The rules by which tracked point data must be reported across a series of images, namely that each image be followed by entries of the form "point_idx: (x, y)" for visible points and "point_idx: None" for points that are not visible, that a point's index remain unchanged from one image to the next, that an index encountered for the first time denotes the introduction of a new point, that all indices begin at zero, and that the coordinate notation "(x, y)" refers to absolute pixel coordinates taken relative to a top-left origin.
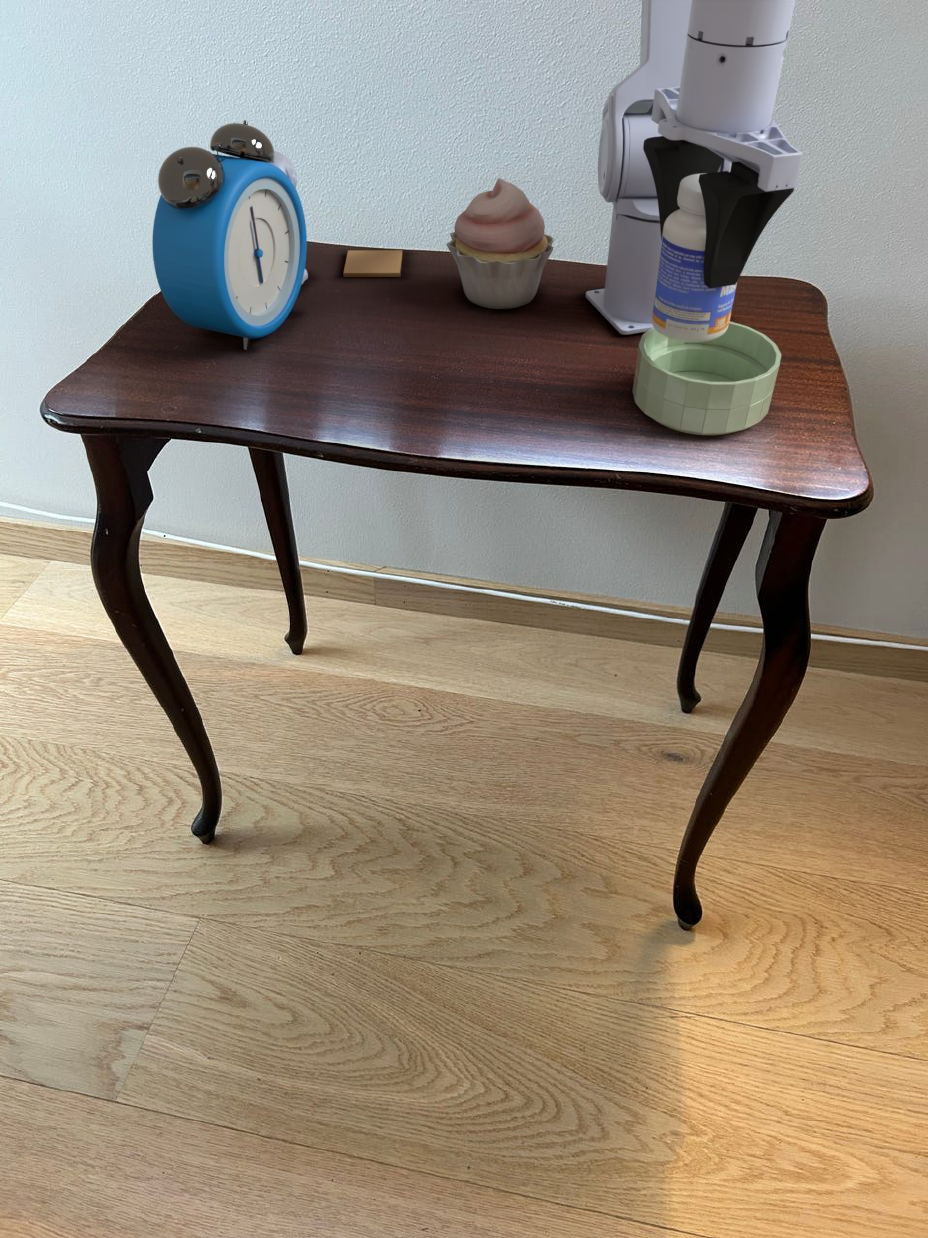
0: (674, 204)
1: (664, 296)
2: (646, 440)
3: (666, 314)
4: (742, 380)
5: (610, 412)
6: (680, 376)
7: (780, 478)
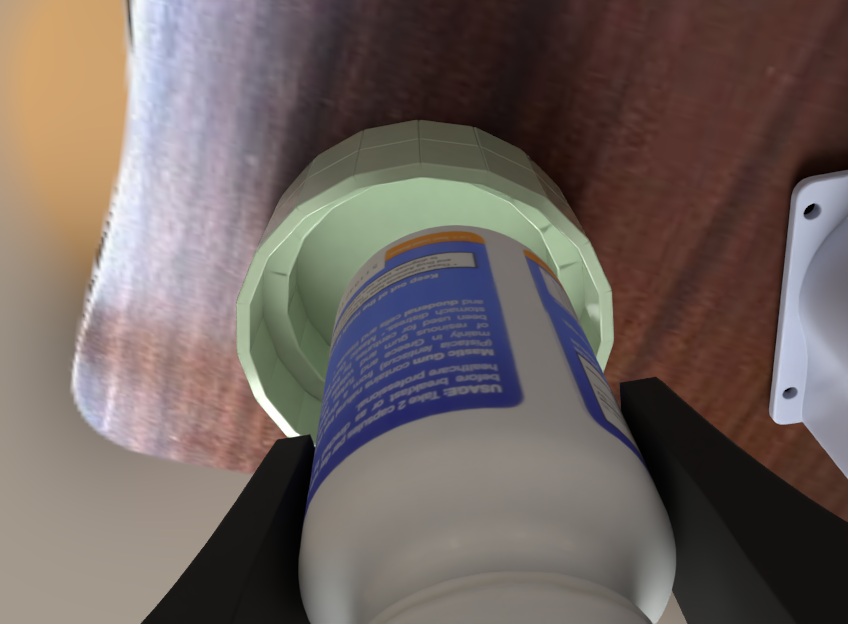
0: (707, 542)
1: (407, 290)
2: (275, 108)
3: (387, 271)
4: (254, 374)
5: (417, 46)
6: (277, 236)
7: (132, 339)
